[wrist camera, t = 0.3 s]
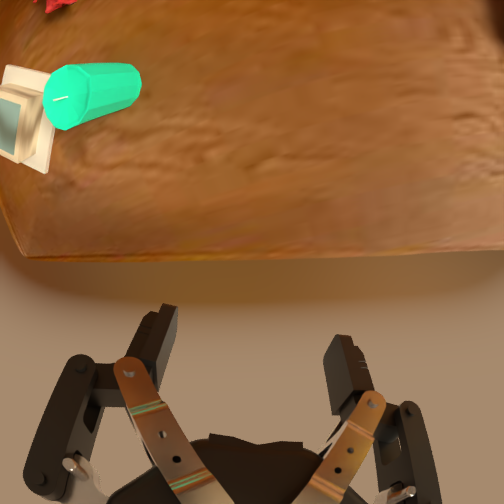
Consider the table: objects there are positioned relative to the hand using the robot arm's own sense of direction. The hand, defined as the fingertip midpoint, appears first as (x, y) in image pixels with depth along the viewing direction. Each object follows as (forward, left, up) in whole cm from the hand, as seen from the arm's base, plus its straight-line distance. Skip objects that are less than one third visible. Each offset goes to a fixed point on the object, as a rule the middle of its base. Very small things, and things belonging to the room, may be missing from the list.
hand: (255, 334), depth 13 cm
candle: (-3, -20, -22) cm, 30 cm away
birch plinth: (+5, -35, -22) cm, 42 cm away
